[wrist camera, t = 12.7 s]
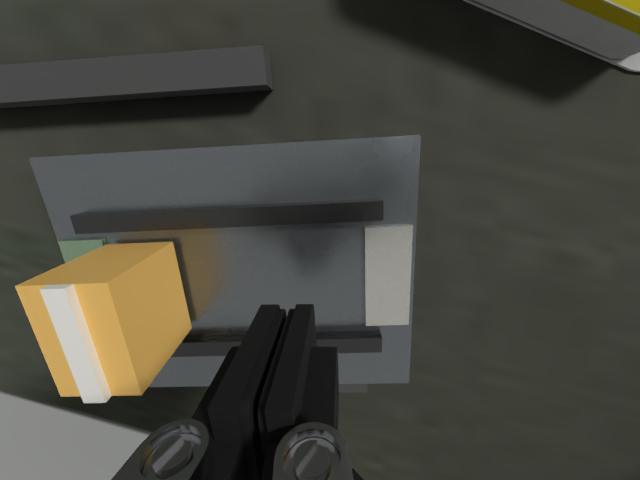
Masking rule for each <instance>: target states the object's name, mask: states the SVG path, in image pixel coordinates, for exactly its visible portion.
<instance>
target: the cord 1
mask: <svg viewBox="0 0 640 480" xmlns="http://www.w3.org/2000/svg"><path fill="white" fill-rule="evenodd" d="M269 90H273V84H272V73H271V63H270V55H269V53H268V52H267V50H266V49H265V47H264V46H263V45H257V46H243V47H230V48H217V49H204V50H190V51H177V52H164V53H151V54H137V55H124V56H111V57H98V58H85V59H71V60H58V61H45V62H32V63H18V64H5V65H0V109H3V108H17V107H32V106H47V105H62V104H77V103H91V102H106V101H121V100H136V99H151V98H165V97H180V96H195V95H210V94H224V93H239V92H254V91H269Z"/></svg>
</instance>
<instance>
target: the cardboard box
mask: <svg viewBox="0 0 640 480" xmlns="http://www.w3.org/2000/svg"><path fill="white" fill-rule="evenodd" d="M15 288H16V290H17V292H18V295H19V297H20V300H21V302H22V304H23V307H24V309H25V312H26V314H27V316H28V319H29V321H30V324H31V326H32V329H33V331H34V333H35V336H36V338H37V341H38V343H39V345H40V348H41V350H42V353H43V355H44V357H45V360H46V362H47V365H48V367H49V370H50V372H51V374H52V377H53V379H54V382H55V384H56V386H57V389H58V391H59V394H60V396H61V397H73V396H81V398H82V401H83V403H106V402H107V401H108V400H109V399H110V397H111V396H138V395H142V394H143V393H144V392H145V390H146V389H147V388H148V386H149V385H150V384H151V382H152V381H153V380H154V378H155V377H156V376H157V374H158V373H159V372H160V370H161V369H162V368H163V366H164V365H165V364H166V362H167V361H168V360H169V358H170V357H171V356H172V354H173V353H174V352H175V350H176V349H177V348H178V346H179V345H180V344H181V342H182V341H183V340H184V338H185V337H186V336H187V334H188V333H189V331H190V330H191V329H192V326H191V322H190V317H189V312H188V308H187V303H186V299H185V294H184V290H183V285H182V281H181V276H180V272H179V267H178V263H177V258H176V253H175V249H174V244H173V242H150V243H126V244H106V245H104V246H102V247H100V248H97V249H95V250H93V251H91V252H89V253H86V254H84V255H82V256H80V257H78V258H75V259H73V260H71V261H69V262H67V263H65V264H62V265H60V266H58V267H56V268H54V269H51V270H49V271H47V272H45V273H43V274H40V275H38V276H36V277H34V278H32V279H29V280H27V281H25V282H23V283H21V284H18V285H16V286H15Z"/></svg>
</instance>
